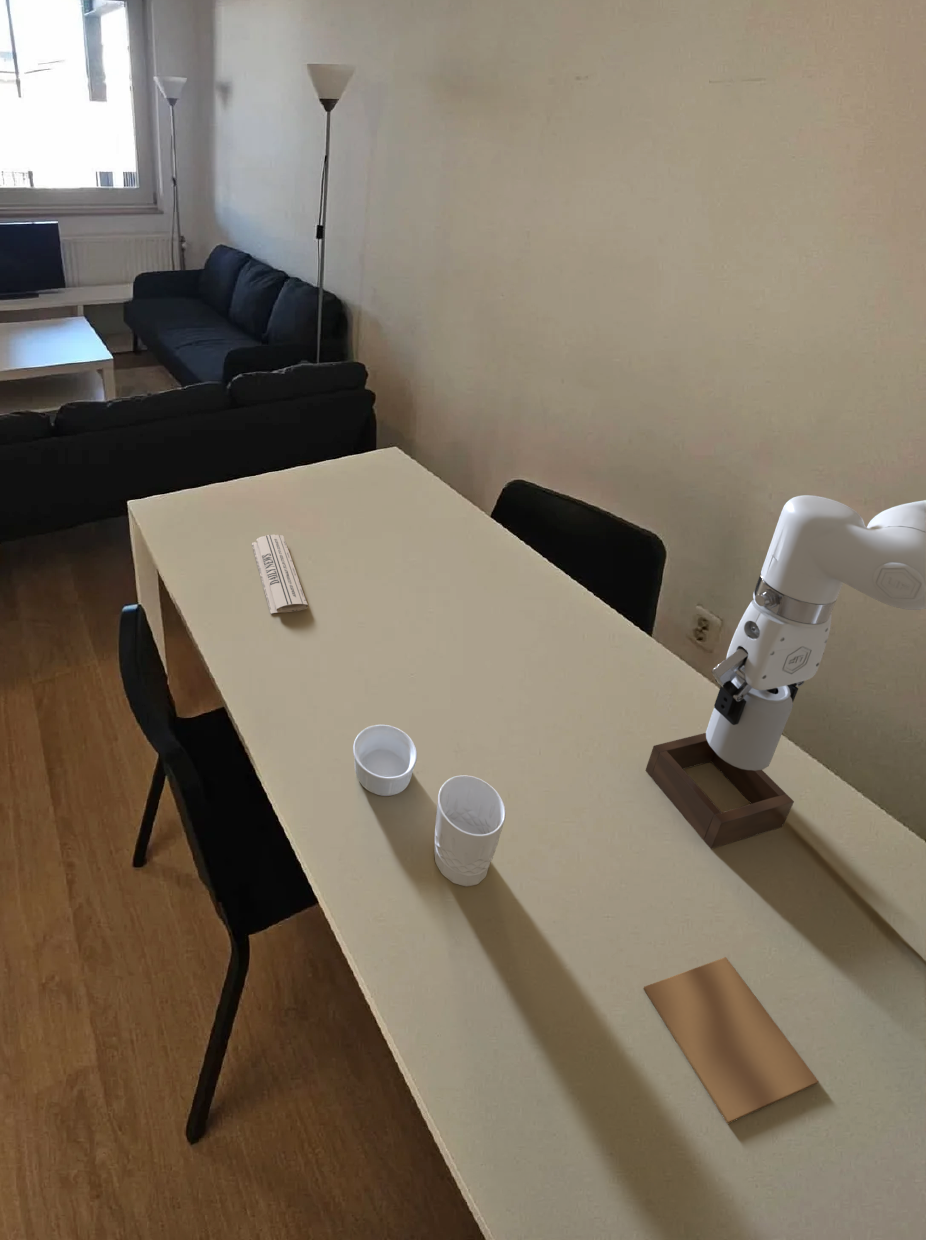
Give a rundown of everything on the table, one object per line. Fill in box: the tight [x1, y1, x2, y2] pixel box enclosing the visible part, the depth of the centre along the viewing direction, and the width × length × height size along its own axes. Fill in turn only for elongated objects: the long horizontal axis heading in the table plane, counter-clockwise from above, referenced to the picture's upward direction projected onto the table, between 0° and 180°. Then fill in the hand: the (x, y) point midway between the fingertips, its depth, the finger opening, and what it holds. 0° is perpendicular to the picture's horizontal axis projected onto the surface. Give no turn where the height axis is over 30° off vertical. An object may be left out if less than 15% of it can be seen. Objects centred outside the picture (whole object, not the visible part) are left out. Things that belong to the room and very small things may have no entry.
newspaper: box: [251, 534, 309, 615], centre depth 135 cm, size 24×7×2 cm, turn 13°
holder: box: [645, 732, 795, 850], centre depth 92 cm, size 12×12×5 cm
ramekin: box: [352, 724, 418, 797], centre depth 93 cm, size 9×9×4 cm
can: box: [705, 666, 794, 771], centre depth 86 cm, size 8×8×12 cm
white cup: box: [433, 774, 507, 887], centre depth 81 cm, size 8×8×10 cm
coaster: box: [642, 956, 819, 1124], centre depth 68 cm, size 11×11×1 cm
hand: (751, 709), depth 86 cm, fingers closed on can, 7 cm apart
